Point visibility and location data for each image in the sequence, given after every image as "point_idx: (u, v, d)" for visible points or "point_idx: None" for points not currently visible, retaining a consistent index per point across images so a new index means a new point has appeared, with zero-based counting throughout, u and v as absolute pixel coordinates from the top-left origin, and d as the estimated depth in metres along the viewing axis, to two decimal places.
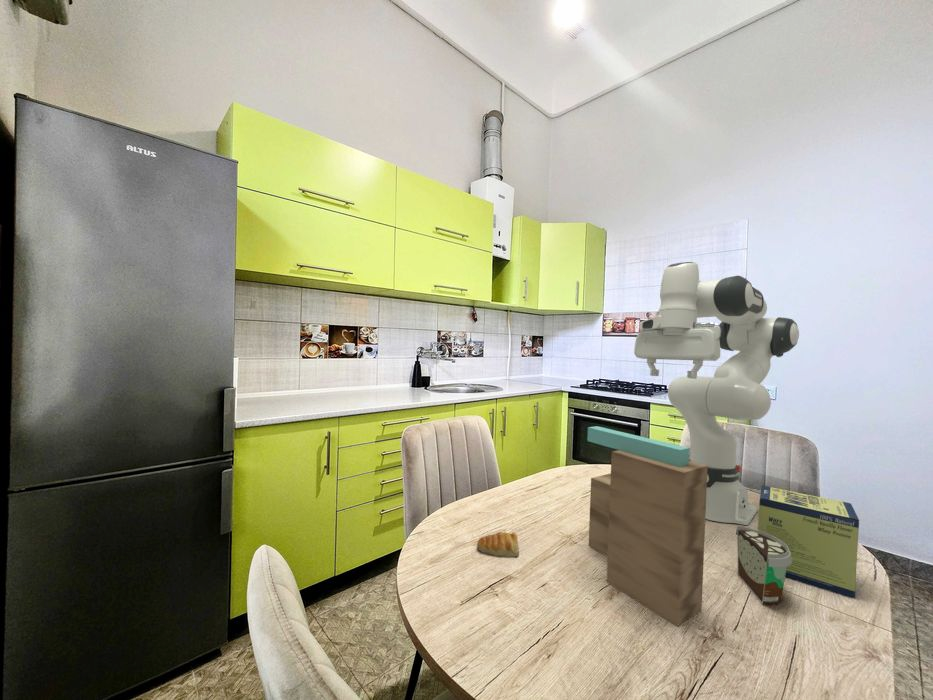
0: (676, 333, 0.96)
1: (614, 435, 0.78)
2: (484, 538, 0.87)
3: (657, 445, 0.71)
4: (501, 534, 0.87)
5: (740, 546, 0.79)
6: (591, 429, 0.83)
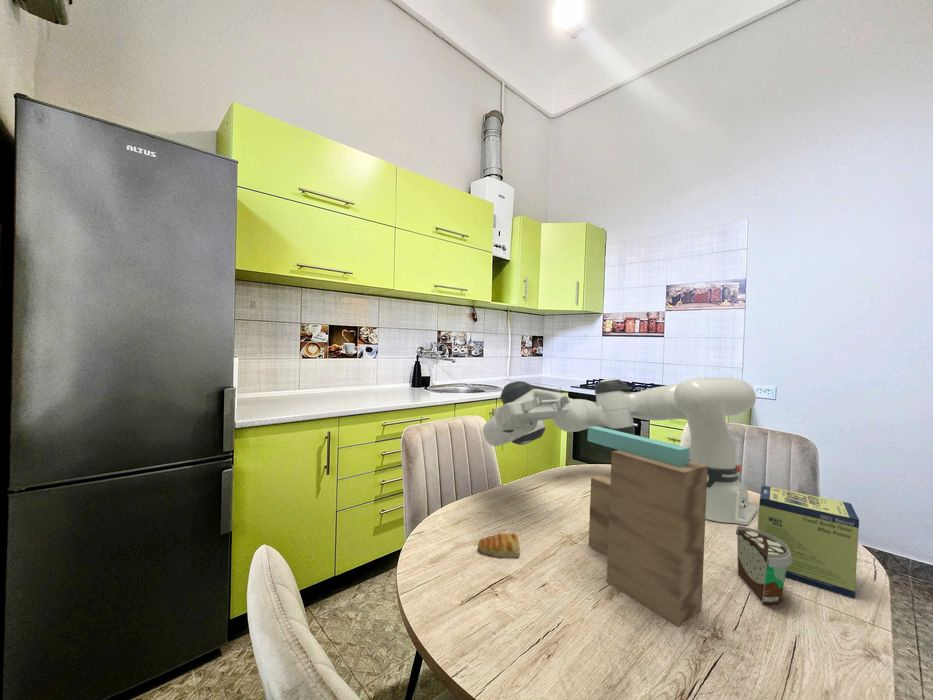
0: None
1: (614, 435, 0.78)
2: (485, 539, 0.86)
3: (657, 445, 0.71)
4: (502, 535, 0.87)
5: (740, 546, 0.79)
6: (591, 429, 0.83)
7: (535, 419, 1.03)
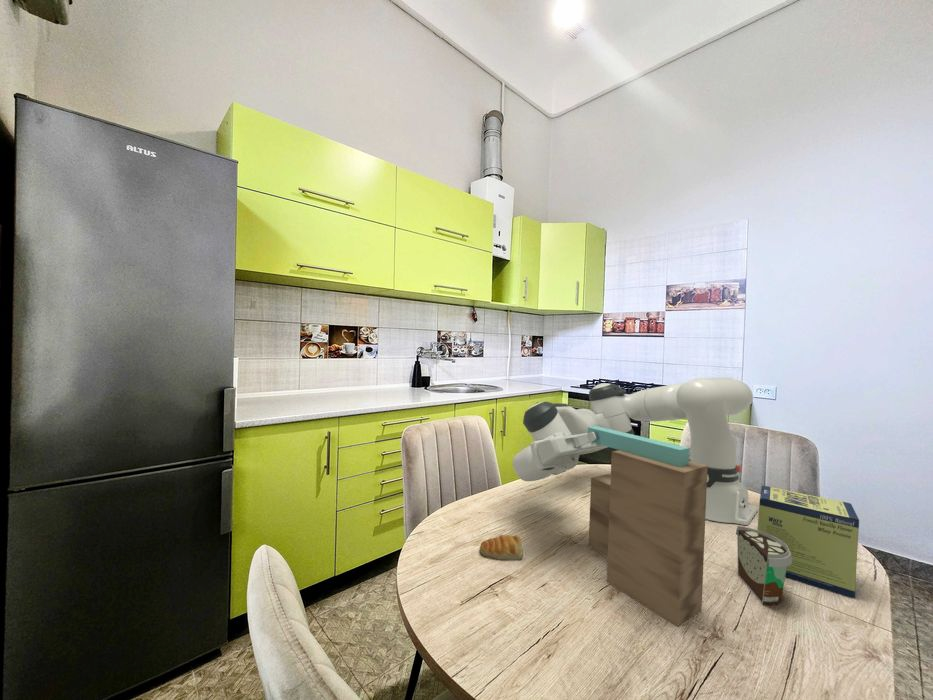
0: None
1: (614, 435, 0.78)
2: (487, 542, 0.85)
3: (657, 445, 0.71)
4: (504, 537, 0.86)
5: (740, 546, 0.79)
6: (591, 429, 0.83)
7: (577, 454, 0.90)
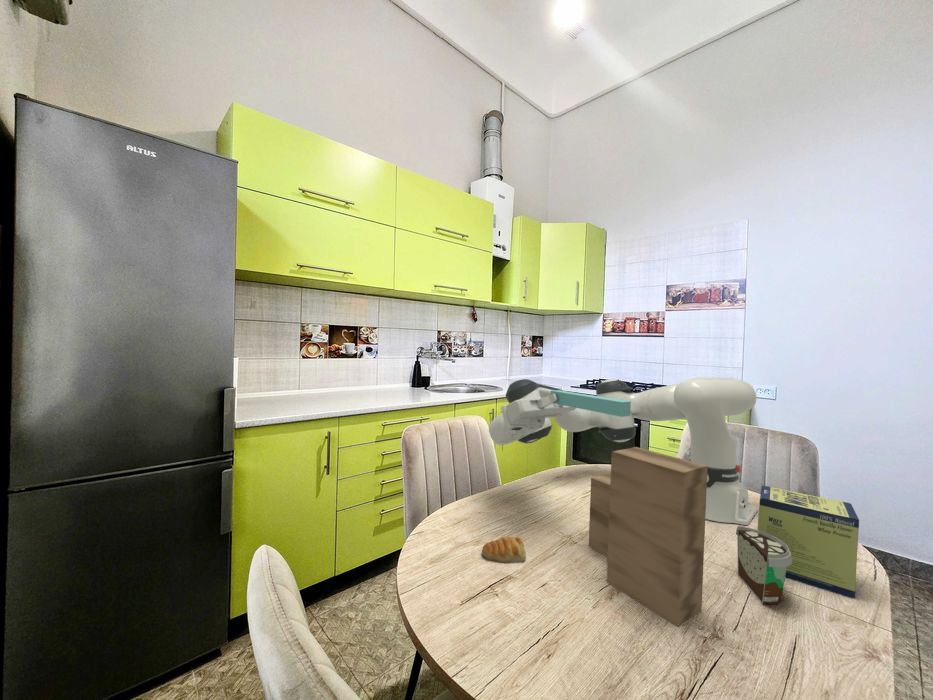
0: None
1: (571, 395, 0.90)
2: (489, 545, 0.84)
3: (604, 400, 0.82)
4: (506, 539, 0.85)
5: (740, 546, 0.79)
6: (553, 392, 0.95)
7: (543, 416, 1.02)
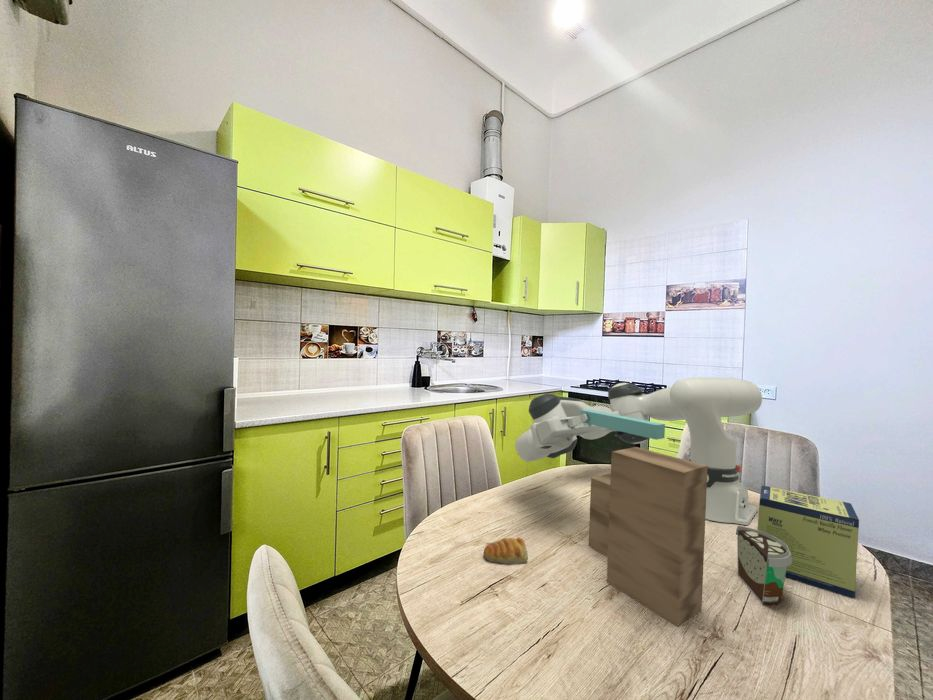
0: None
1: (603, 415, 0.91)
2: (491, 546, 0.83)
3: (638, 422, 0.83)
4: (508, 540, 0.84)
5: (740, 546, 0.79)
6: (583, 411, 0.95)
7: (572, 435, 1.02)
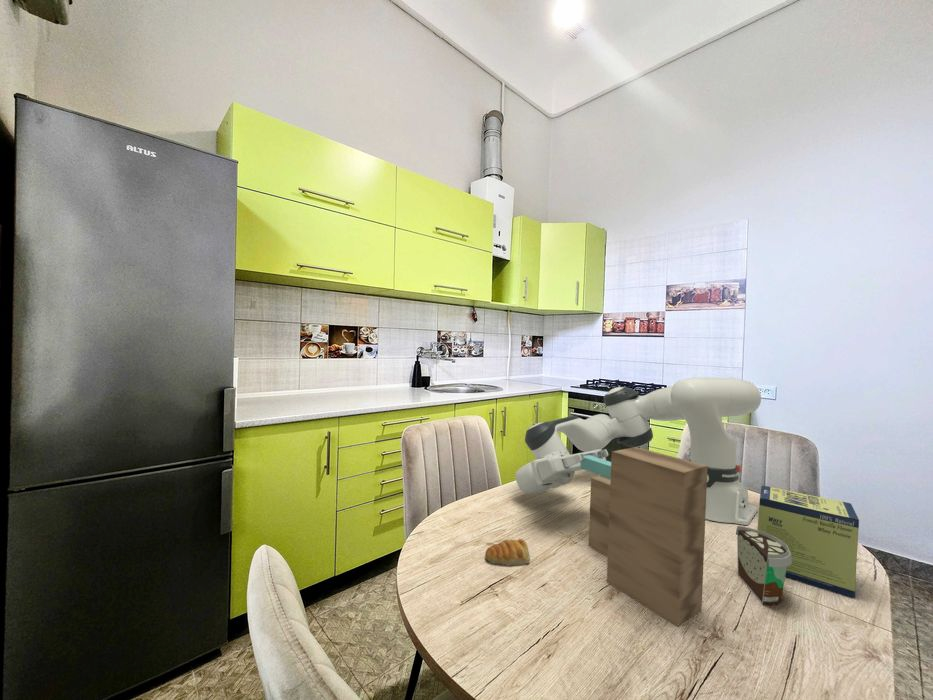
0: None
1: (603, 465, 0.91)
2: (493, 548, 0.83)
3: None
4: (509, 542, 0.84)
5: (740, 546, 0.79)
6: None
7: (572, 471, 1.03)
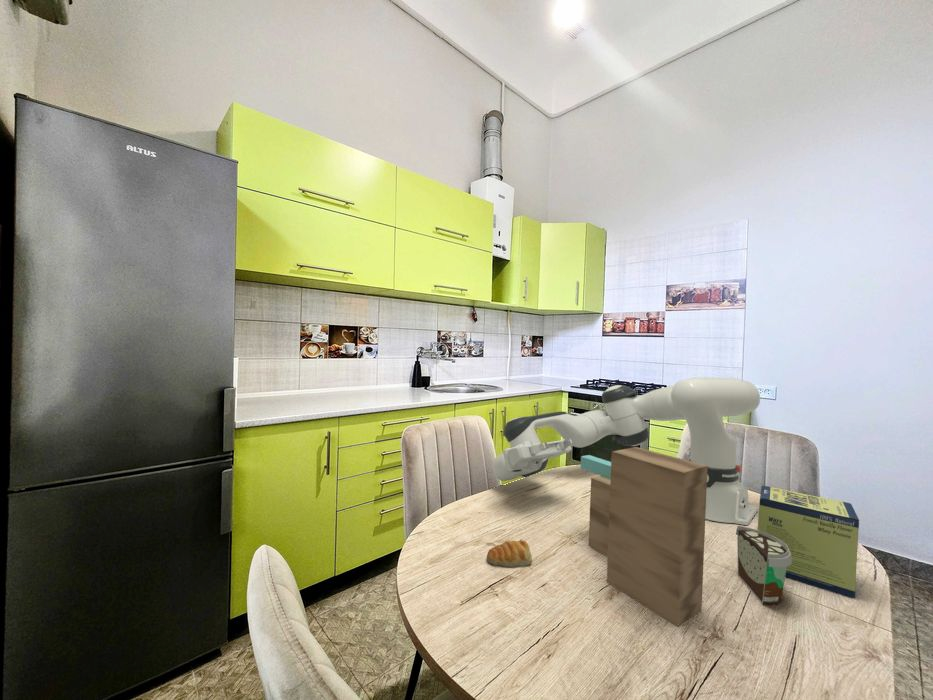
0: None
1: (603, 465, 0.91)
2: (494, 550, 0.82)
3: None
4: (511, 543, 0.83)
5: (740, 546, 0.79)
6: (584, 458, 0.96)
7: (541, 458, 1.13)
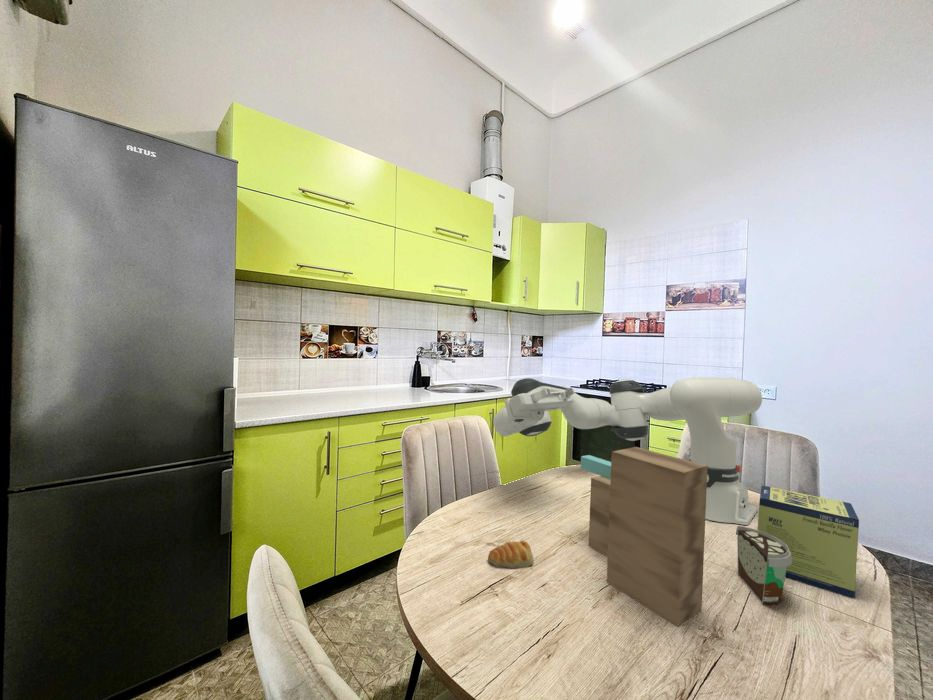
0: None
1: (603, 465, 0.91)
2: (496, 551, 0.82)
3: None
4: (512, 544, 0.83)
5: (740, 546, 0.79)
6: (584, 458, 0.96)
7: (542, 409, 1.12)
